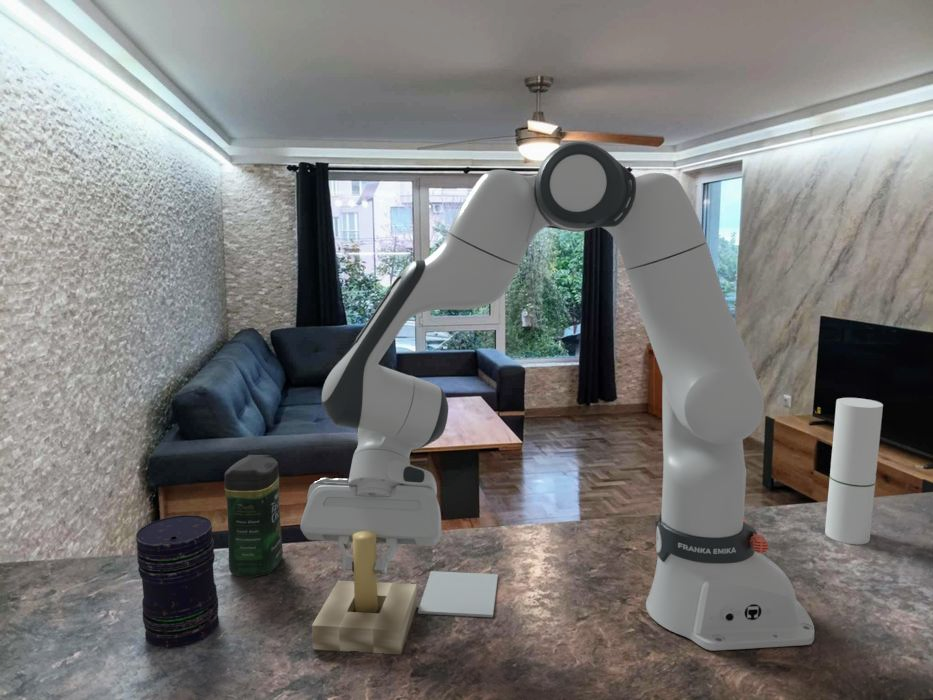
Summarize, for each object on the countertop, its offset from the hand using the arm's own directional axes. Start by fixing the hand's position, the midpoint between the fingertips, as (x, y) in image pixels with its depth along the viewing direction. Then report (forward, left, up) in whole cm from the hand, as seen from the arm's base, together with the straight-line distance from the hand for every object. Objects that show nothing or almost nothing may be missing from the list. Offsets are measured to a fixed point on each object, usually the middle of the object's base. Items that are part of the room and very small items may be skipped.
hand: (364, 572), depth 95 cm
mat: (-12, -11, -9) cm, 18 cm away
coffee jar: (+23, -17, -9) cm, 30 cm away
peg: (0, -1, -6) cm, 6 cm away
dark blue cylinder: (+26, +2, -9) cm, 28 cm away
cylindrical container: (-80, -38, -9) cm, 89 cm away
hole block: (0, -1, -9) cm, 9 cm away
